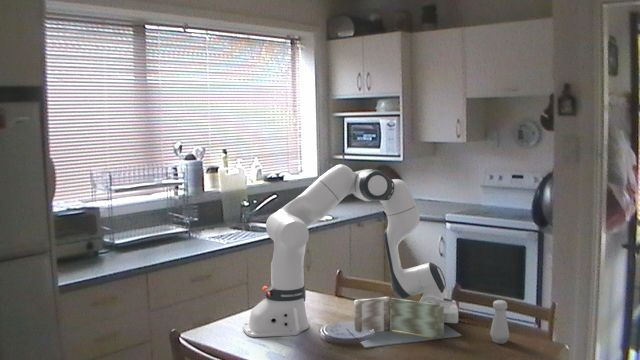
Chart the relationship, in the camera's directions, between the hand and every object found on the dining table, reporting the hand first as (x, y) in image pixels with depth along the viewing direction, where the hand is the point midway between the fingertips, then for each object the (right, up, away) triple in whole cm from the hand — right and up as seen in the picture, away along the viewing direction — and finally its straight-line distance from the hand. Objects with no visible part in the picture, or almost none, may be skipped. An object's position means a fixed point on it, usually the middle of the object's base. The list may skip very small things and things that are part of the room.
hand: (424, 320), depth 198 cm
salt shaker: (+23, -6, -5) cm, 24 cm away
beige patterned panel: (-16, -5, +5) cm, 18 cm away
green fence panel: (-2, -4, +1) cm, 5 cm away
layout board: (-6, -5, +5) cm, 9 cm away
